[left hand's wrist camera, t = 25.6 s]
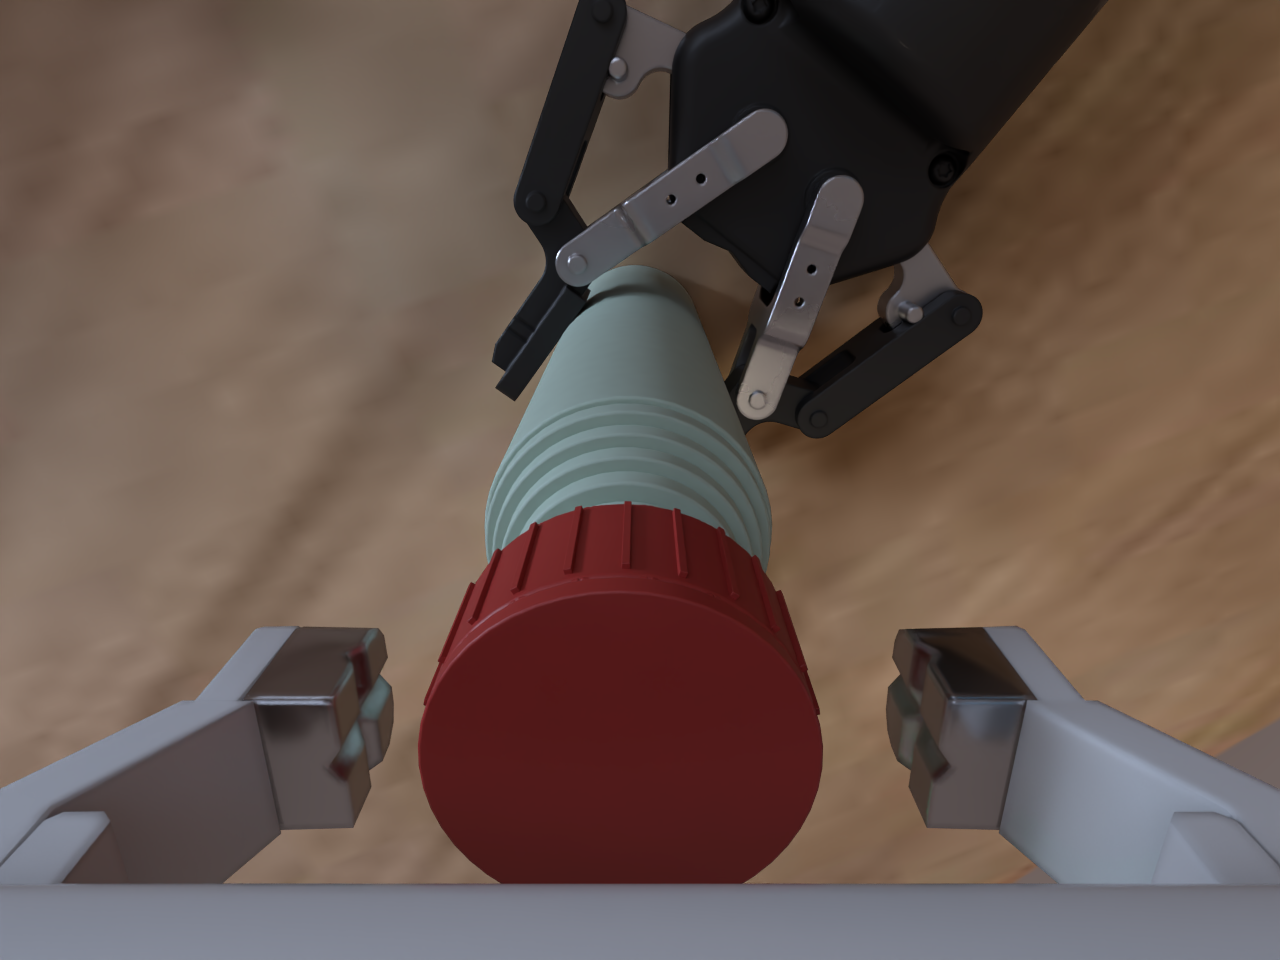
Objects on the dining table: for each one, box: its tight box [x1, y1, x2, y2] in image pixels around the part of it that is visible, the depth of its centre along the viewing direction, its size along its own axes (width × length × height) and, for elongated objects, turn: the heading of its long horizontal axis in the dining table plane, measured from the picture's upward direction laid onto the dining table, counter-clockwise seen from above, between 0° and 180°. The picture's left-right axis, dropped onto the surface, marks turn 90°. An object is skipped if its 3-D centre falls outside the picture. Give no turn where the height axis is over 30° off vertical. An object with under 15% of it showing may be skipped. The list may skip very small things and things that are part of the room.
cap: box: [418, 501, 823, 884], centre depth 9 cm, size 4×4×2 cm
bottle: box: [485, 265, 772, 573], centre depth 19 cm, size 5×5×23 cm
